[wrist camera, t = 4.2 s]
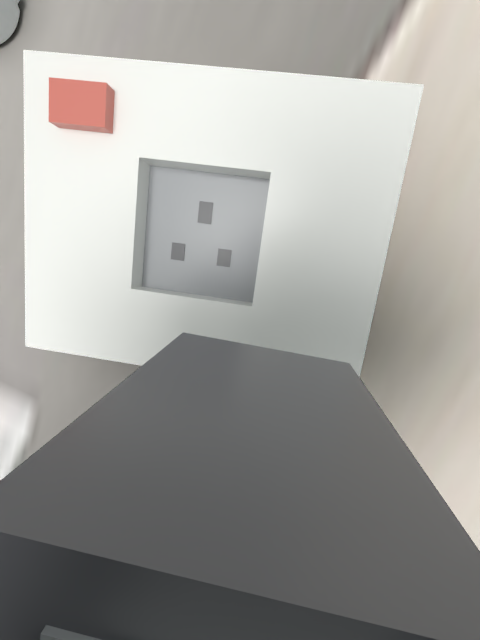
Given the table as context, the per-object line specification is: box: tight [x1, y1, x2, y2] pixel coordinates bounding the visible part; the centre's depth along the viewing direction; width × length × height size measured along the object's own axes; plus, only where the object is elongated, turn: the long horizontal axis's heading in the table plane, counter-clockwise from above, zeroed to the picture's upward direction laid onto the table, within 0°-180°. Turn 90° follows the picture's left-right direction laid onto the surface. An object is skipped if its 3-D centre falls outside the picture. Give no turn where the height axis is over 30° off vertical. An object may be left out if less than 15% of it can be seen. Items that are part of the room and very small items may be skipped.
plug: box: [0, 332, 480, 640], centre depth 6 cm, size 5×5×7 cm
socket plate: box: [23, 50, 424, 378], centre depth 18 cm, size 16×20×3 cm
